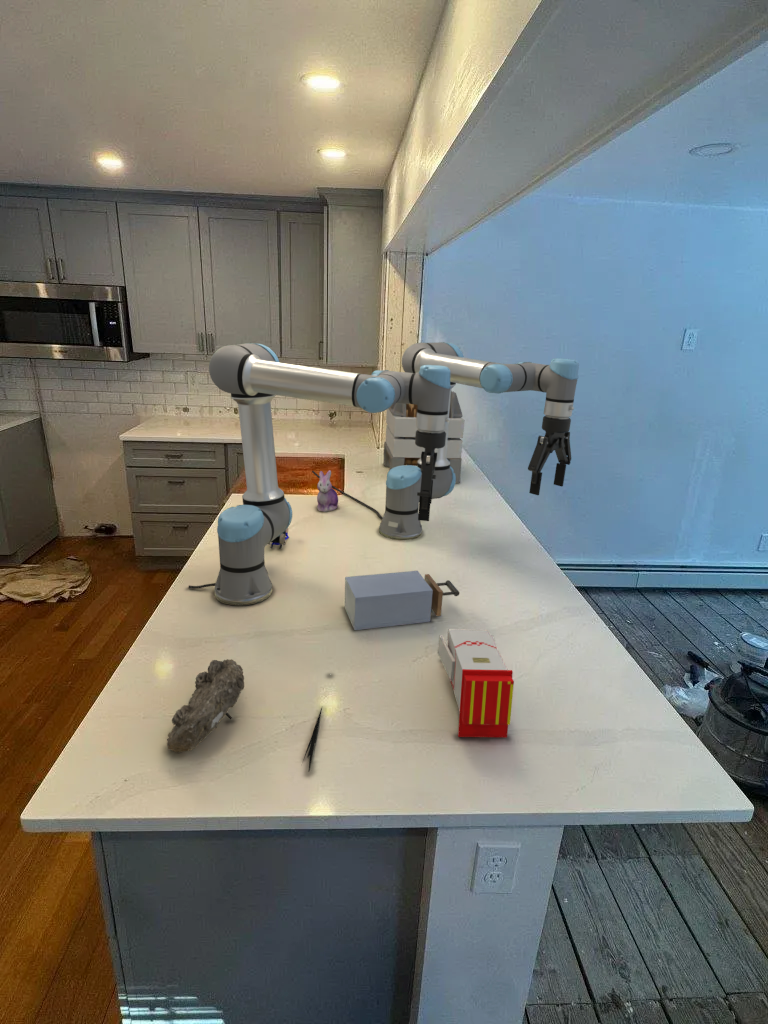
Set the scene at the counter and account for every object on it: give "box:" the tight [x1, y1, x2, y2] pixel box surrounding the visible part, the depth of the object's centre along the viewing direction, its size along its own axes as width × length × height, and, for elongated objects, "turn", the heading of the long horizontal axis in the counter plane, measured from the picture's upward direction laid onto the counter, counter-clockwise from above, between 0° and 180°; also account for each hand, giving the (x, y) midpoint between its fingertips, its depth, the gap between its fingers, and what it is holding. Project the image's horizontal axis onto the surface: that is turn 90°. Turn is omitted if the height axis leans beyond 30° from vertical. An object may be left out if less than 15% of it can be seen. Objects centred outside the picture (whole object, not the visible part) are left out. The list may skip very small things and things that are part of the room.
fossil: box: [166, 658, 245, 754], centre depth 106 cm, size 22×10×15 cm
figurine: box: [316, 469, 339, 512], centre depth 219 cm, size 9×10×15 cm
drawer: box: [424, 573, 460, 617], centre depth 147 cm, size 24×10×7 cm, turn 106°
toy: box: [437, 628, 515, 738], centre depth 117 cm, size 12×13×30 cm
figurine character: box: [268, 527, 290, 550], centre depth 187 cm, size 7×8×15 cm
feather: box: [301, 673, 332, 771], centre depth 108 cm, size 2×28×2 cm
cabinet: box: [344, 570, 433, 631], centre depth 146 cm, size 20×12×9 cm, turn 106°
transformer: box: [383, 390, 465, 484], centre depth 268 cm, size 34×33×41 cm
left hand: (424, 511), depth 147 cm, fingers open, 13 cm apart
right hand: (546, 489), depth 164 cm, fingers open, 13 cm apart
